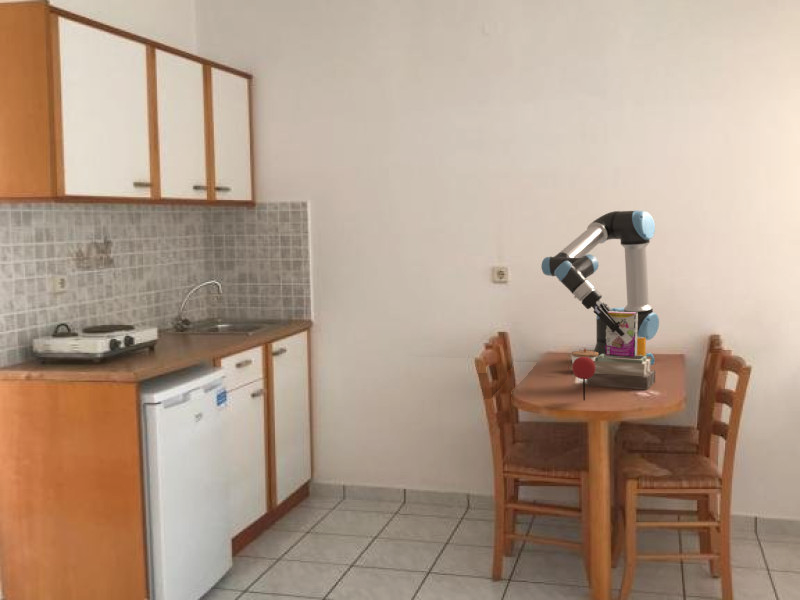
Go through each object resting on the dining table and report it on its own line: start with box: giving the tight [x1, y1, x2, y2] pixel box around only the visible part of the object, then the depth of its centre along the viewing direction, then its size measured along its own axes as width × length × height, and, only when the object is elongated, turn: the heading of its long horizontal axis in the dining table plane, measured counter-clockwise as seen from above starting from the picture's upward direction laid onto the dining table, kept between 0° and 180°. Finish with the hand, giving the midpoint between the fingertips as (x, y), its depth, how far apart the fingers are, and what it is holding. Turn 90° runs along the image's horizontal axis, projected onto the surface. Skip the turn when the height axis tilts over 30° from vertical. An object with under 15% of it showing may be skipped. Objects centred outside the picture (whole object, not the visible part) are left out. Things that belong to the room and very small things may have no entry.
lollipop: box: [571, 357, 595, 401], centre depth 314 cm, size 8×8×15 cm
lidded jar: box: [571, 348, 599, 364], centre depth 371 cm, size 11×11×9 cm
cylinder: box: [637, 337, 655, 366], centre depth 360 cm, size 12×10×15 cm
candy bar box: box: [605, 311, 638, 357], centre depth 342 cm, size 11×5×16 cm, turn 66°
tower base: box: [586, 354, 656, 391], centre depth 343 cm, size 16×22×10 cm
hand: (631, 340), depth 340 cm, fingers closed on candy bar box, 5 cm apart
